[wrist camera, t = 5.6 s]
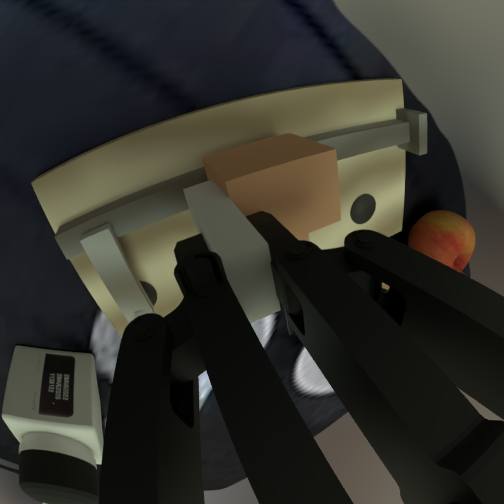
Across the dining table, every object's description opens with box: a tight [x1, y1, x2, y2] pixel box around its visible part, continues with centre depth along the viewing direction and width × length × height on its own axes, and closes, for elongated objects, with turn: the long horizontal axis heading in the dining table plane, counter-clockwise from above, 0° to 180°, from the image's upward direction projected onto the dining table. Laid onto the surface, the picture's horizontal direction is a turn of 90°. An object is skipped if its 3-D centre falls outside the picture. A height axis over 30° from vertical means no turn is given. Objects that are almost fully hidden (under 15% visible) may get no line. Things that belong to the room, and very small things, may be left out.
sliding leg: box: [202, 133, 341, 241], centre depth 16 cm, size 8×5×6 cm, turn 12°
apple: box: [408, 210, 475, 275], centre depth 25 cm, size 7×7×8 cm
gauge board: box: [31, 78, 427, 337], centre depth 19 cm, size 14×26×4 cm, turn 102°
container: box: [2, 345, 103, 504], centre depth 16 cm, size 8×8×13 cm
